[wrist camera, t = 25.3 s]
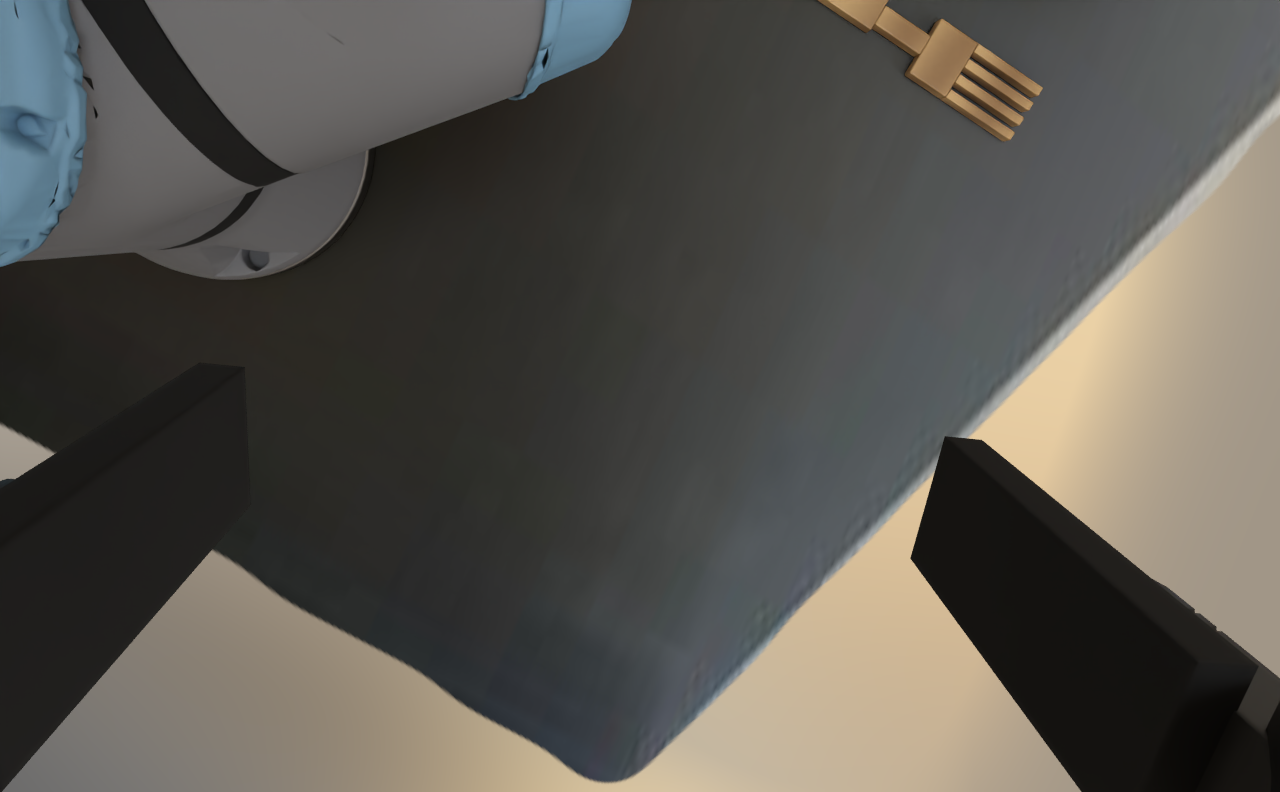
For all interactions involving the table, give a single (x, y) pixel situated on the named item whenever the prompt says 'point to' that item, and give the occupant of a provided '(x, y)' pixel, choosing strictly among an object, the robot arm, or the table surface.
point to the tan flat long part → (948, 64)
